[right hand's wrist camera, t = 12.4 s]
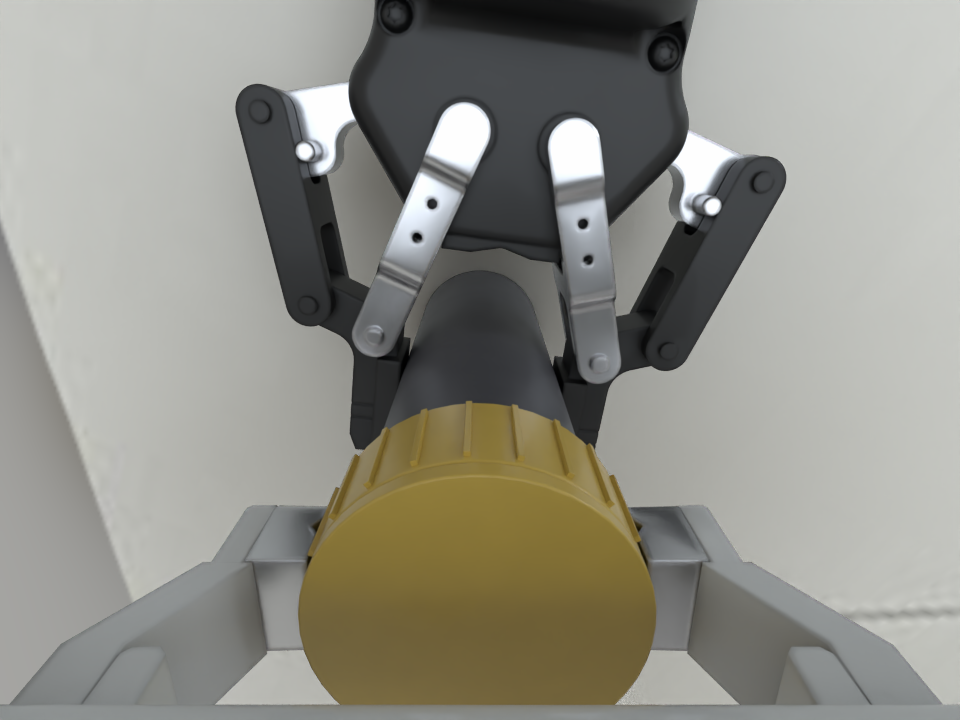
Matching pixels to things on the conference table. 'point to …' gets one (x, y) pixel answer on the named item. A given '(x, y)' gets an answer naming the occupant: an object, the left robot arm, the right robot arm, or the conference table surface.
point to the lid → (477, 569)
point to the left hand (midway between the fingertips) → (469, 464)
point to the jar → (479, 352)
